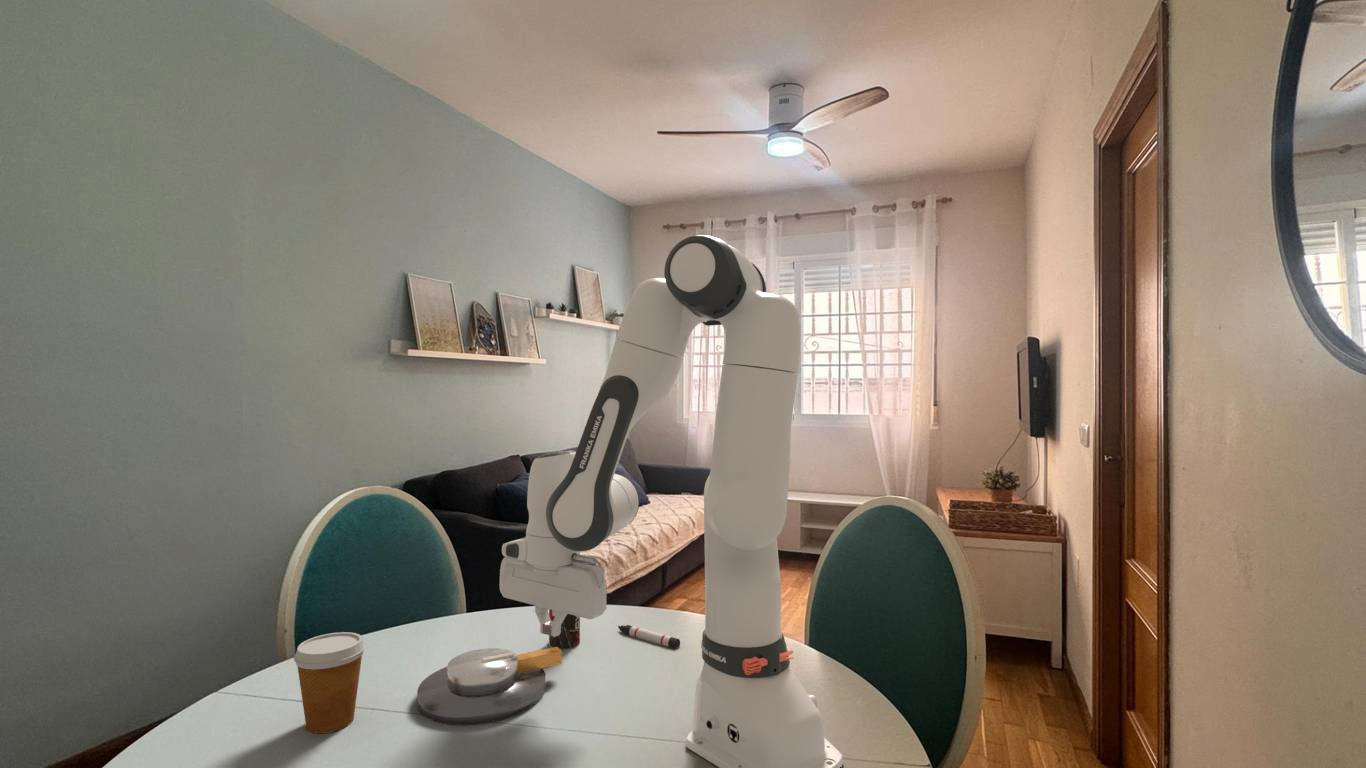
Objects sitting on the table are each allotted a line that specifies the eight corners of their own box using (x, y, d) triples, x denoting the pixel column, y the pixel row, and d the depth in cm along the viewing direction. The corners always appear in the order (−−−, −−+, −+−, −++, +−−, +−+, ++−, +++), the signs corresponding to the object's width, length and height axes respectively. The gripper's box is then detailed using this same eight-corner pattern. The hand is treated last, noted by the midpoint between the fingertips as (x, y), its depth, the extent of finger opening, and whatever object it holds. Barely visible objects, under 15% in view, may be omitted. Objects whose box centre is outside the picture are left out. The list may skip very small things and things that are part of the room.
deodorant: (577, 649, 127) (577, 570, 127) (546, 649, 127) (546, 570, 127) (582, 637, 133) (582, 562, 133) (552, 637, 133) (552, 562, 133)
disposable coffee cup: (316, 746, 93) (316, 660, 93) (280, 728, 98) (280, 646, 98) (378, 717, 101) (378, 638, 101) (342, 702, 106) (342, 626, 106)
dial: (454, 701, 101) (454, 679, 101) (441, 674, 111) (441, 654, 111) (570, 675, 110) (570, 654, 110) (549, 652, 120) (549, 633, 120)
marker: (680, 647, 129) (680, 637, 129) (674, 650, 127) (674, 640, 127) (620, 630, 138) (620, 620, 138) (614, 633, 136) (614, 623, 136)
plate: (562, 704, 105) (562, 689, 105) (428, 738, 95) (428, 722, 95) (525, 659, 122) (525, 647, 122) (408, 684, 112) (408, 670, 112)
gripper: (616, 555, 106) (613, 642, 106) (521, 537, 116) (518, 616, 116) (591, 563, 101) (588, 655, 101) (494, 544, 111) (491, 626, 111)
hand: (550, 634), depth 109 cm, fingers closed
